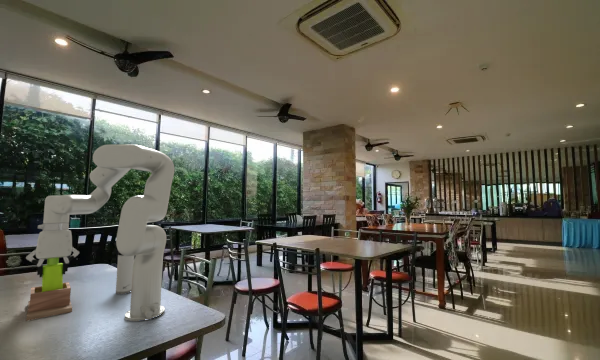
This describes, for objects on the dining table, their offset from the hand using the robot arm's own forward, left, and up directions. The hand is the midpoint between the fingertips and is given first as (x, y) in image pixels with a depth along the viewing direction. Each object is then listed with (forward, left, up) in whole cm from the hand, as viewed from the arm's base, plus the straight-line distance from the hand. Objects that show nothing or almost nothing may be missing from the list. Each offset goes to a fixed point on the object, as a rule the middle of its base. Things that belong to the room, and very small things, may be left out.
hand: (52, 274), depth 106 cm
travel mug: (+3, -25, -13) cm, 28 cm away
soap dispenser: (0, 0, -10) cm, 10 cm away
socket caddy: (0, 0, -12) cm, 12 cm away
